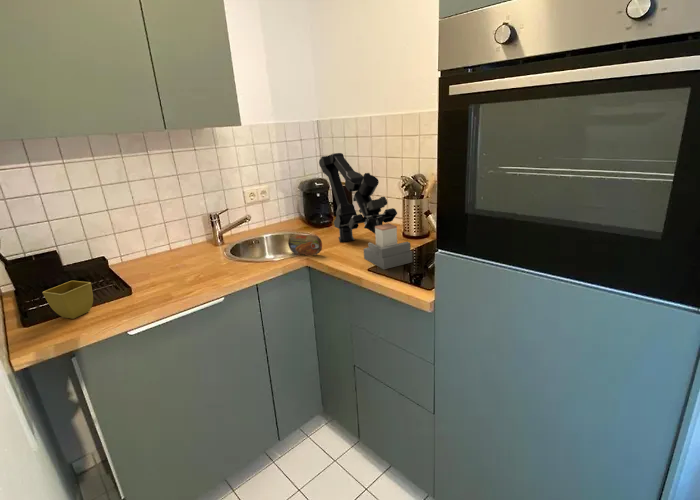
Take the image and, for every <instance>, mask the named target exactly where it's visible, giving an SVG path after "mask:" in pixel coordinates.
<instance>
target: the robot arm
mask: <svg viewBox="0 0 700 500" xmlns="http://www.w3.org/2000/svg"><path fill="white" fill-rule="evenodd" d="M318 163H319V164H318V165H319V167H320V168H321V171H322V173H323V174H324V175H326V176H327V178H328V181H329V183H330V186H331V187H330V188H331V190H332V193H333V196H334V199H335V203H336V206H337V209H336V211H335V214H336V217H335V219H334V221H333V224H334V227H335V228H337V229H338V230H339V237H338V241H339V242H340V243H344V242H345V243H346V242H353V241H355V238H354V236H353V230H355V229H358V228H359V224H364V227H363V228H364V229H367V230H368V231H370V232H372V233H373V234H374V235H375V226H379V225H384V224H383V223H385V224H388V223H391V222H393V221H394V219H395V217H396V216H397V215H398V211H397V209H396V208H387V209H385V210H384V211H383V213H381V211H382V209H383V208H385V206H387V205H388V200H387V198H386V197H385V196H381V197H379V198H377V199H373V198H372V197H371V196H373V194H374V193H375V191H376V189H377V187H378V186H379V179H378V178H377V177H376V176H375V175H372V174H371V173H370V172H365V173H364V174H361V172H357V171H355V170H354V168H353V167H352V166H351V165H350V164H349V162H348V161H347V160H346V158H345V157H344V154H343V153H342V152H336V153H335V152H334V153H332V154H329V155H325V156H324V155H323V156H320V159H319V161H318ZM339 173H340V174H341V176H342V177H343V179H344V185H345V188H346V189H347V191H348V192H349V193H353V192H354V194H353V202H356V203H357V205H358V208H359V210H358V212H359V213H360V214H359V213H358V214H357V211H356V208H355V205H354V204H352V203H351V204H350V203H349V201H348V198H347V195H346V192H345V190H344V186H343V183H342V180H341V177H340V174H339Z"/></svg>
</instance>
